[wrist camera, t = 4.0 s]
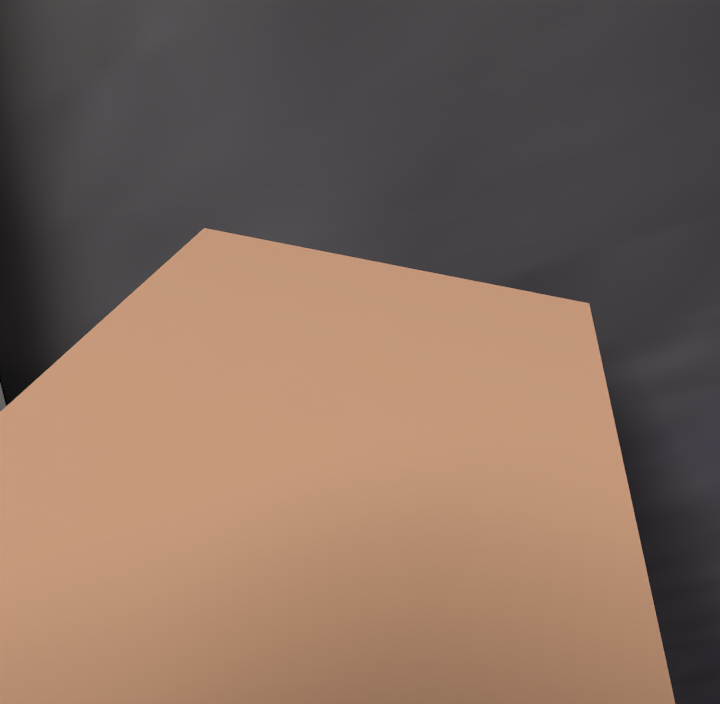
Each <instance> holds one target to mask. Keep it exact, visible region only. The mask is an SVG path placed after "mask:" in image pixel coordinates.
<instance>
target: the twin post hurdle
mask: <svg viewBox="0 0 720 704" xmlns="http://www.w3.org/2000/svg"><path fill="white" fill-rule="evenodd" d="M5 407H6V404H5V400H4V396H3V392H2V388H1V384H0V412H1V411H2V410H3V409H4V408H5Z"/></svg>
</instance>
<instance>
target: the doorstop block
mask: <svg viewBox="0 0 720 704" xmlns="http://www.w3.org/2000/svg"><path fill="white" fill-rule="evenodd" d="M0 704H675V700H674V695H673V691H672V686H671V681H670V677H669V672H668V667H667V663H666V658H665V653H664V649H663V644H662V639H661V635H660V630H659V626H658V621H657V616H656V612H655V607H654V602H653V598H652V593H651V588H650V584H649V579H648V574H647V570H646V565H645V561H644V556H643V551H642V547H641V542H640V537H639V533H638V528H637V523H636V519H635V514H634V509H633V505H632V500H631V496H630V491H629V486H628V482H627V477H626V472H625V468H624V463H623V458H622V454H621V449H620V444H619V440H618V435H617V431H616V426H615V421H614V417H613V412H612V407H611V403H610V398H609V393H608V389H607V384H606V379H605V375H604V370H603V366H602V361H601V356H600V352H599V347H598V342H597V338H596V333H595V328H594V324H593V319H592V315H591V310H590V305H589V303H584V302H579V301H574V300H569V299H564V298H559V297H554V296H549V295H543V294H538V293H533V292H528V291H523V290H518V289H513V288H508V287H503V286H497V285H492V284H487V283H482V282H477V281H472V280H467V279H462V278H457V277H451V276H446V275H441V274H436V273H431V272H426V271H421V270H416V269H411V268H405V267H400V266H395V265H390V264H385V263H380V262H375V261H370V260H365V259H360V258H354V257H349V256H344V255H339V254H334V253H329V252H324V251H319V250H314V249H308V248H303V247H298V246H293V245H288V244H283V243H278V242H273V241H268V240H262V239H257V238H252V237H247V236H242V235H237V234H232V233H227V232H222V231H216V230H211V229H206V228H204V229H203V230H202V231H201V232H199V233H198V234H197V235H196V236H195V237H194V238H193V239H192V240H191V241H189V242H188V243H187V244H186V245H185V246H184V247H183V248H182V249H181V250H179V251H178V252H177V253H176V254H175V255H174V256H173V257H172V258H171V259H169V260H168V261H167V262H166V263H165V264H164V265H163V266H162V267H161V268H159V269H158V270H157V271H156V272H155V273H154V274H153V275H152V276H151V277H149V278H148V279H147V280H146V281H145V282H144V283H143V284H142V285H141V286H139V287H138V288H137V289H136V290H135V291H134V292H133V293H132V294H131V295H129V296H128V297H127V298H126V299H125V300H124V301H123V302H122V303H121V304H119V305H118V306H117V307H116V308H115V309H114V310H113V311H112V312H111V313H109V314H108V315H107V316H106V317H105V318H104V319H103V320H102V321H101V322H99V323H98V324H97V325H96V326H95V327H94V328H93V329H92V330H91V331H89V332H88V333H87V334H86V335H85V336H84V337H83V338H82V339H81V340H79V341H78V342H77V343H76V344H75V345H74V346H73V347H72V348H71V349H69V350H68V351H67V352H66V353H65V354H64V355H63V356H62V357H61V358H60V359H58V360H57V361H56V362H55V363H54V364H53V365H52V366H51V367H50V368H48V369H47V370H46V371H45V372H44V373H43V374H42V375H41V376H40V377H38V378H37V379H36V380H35V381H34V382H33V383H32V384H31V385H30V386H28V387H27V388H26V389H25V390H24V391H23V392H22V393H21V394H20V395H18V396H17V397H16V398H15V399H14V400H13V401H12V402H11V403H10V404H8V405H7V406H6V407H5V408H4V409H3V410H2V411H1V412H0Z"/></svg>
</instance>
